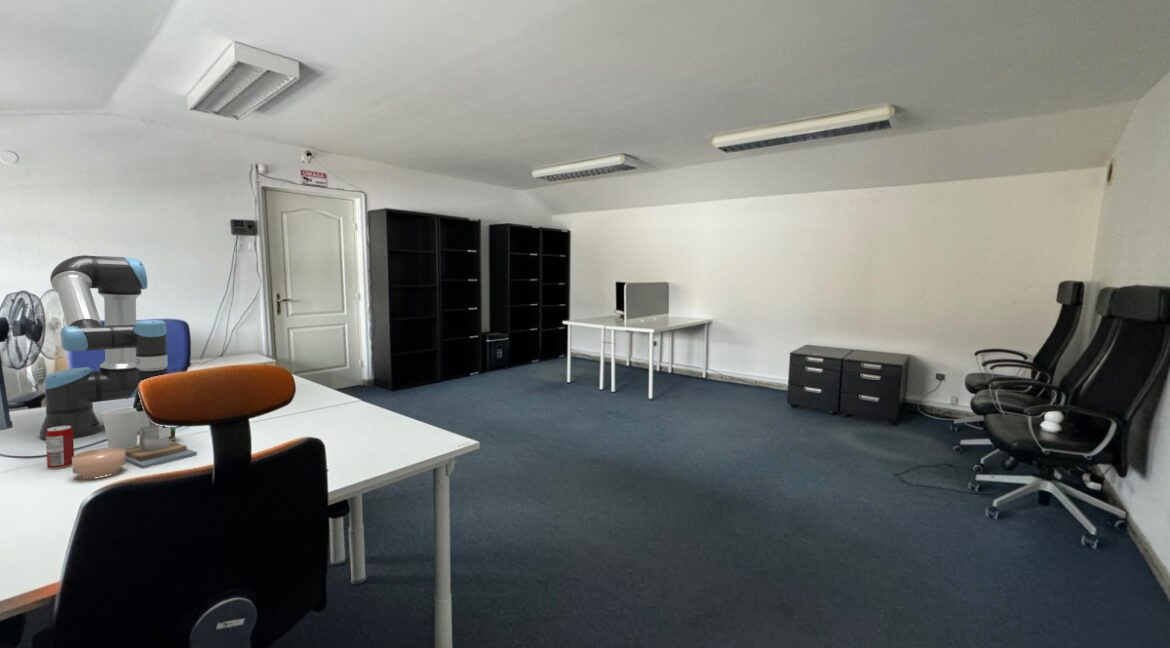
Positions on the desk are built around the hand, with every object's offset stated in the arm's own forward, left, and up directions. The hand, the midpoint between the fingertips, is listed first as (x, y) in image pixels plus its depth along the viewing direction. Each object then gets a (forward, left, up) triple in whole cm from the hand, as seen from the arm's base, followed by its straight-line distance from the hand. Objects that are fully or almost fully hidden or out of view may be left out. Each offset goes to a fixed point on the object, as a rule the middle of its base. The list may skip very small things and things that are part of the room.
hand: (154, 433), depth 157 cm
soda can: (-12, -18, -7) cm, 23 cm away
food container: (-15, +9, -7) cm, 19 cm away
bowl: (+5, -15, -7) cm, 17 cm away
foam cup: (-16, -2, -7) cm, 18 cm away
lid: (0, 0, -6) cm, 6 cm away
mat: (0, 0, -7) cm, 7 cm away
